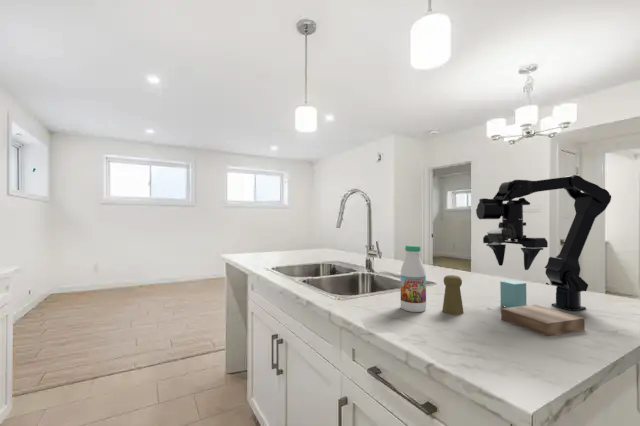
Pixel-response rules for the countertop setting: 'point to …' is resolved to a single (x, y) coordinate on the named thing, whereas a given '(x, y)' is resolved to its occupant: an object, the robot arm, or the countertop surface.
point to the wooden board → (542, 319)
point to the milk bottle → (413, 281)
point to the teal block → (513, 293)
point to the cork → (452, 295)
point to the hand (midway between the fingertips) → (513, 267)
